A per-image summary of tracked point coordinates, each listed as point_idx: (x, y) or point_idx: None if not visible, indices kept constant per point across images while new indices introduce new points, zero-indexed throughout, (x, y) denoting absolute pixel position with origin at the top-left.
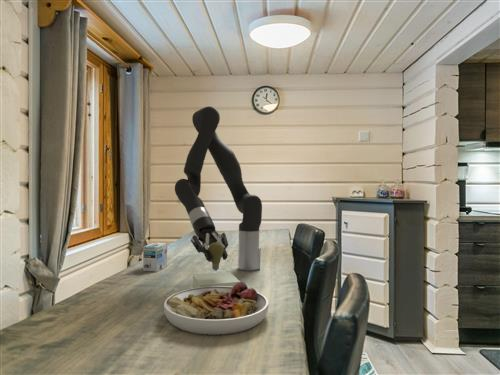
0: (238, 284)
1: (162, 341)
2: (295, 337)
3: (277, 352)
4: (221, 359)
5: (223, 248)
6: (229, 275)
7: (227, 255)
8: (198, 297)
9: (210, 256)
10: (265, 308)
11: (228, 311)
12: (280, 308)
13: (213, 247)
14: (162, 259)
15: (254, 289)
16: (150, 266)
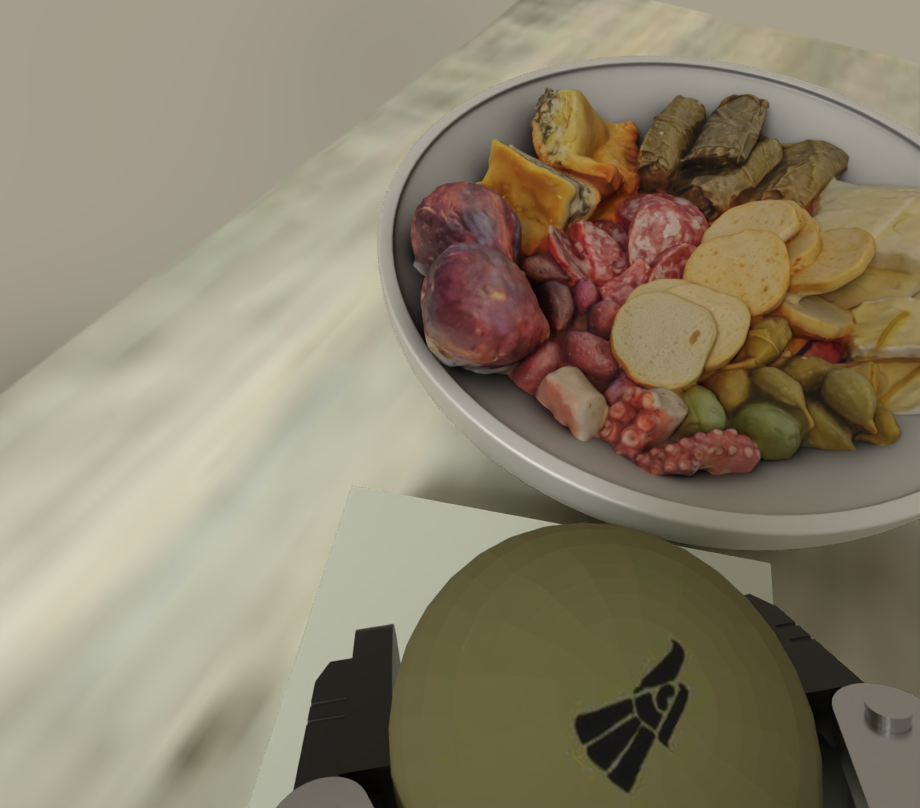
0: (503, 258)
1: None
2: (449, 67)
3: (563, 33)
4: (742, 54)
5: (424, 614)
6: None
7: (334, 665)
8: (792, 379)
9: None
10: (491, 87)
11: (669, 130)
12: (291, 259)
13: (719, 573)
14: None
15: (427, 198)
16: None
